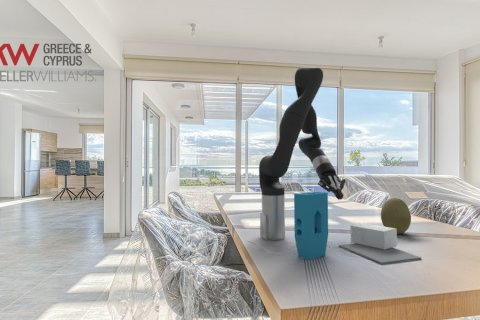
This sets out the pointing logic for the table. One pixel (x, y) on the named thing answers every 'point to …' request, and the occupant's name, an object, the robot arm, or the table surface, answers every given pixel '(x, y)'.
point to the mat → (380, 254)
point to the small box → (374, 235)
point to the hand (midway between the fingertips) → (340, 198)
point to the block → (311, 224)
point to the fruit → (396, 215)
